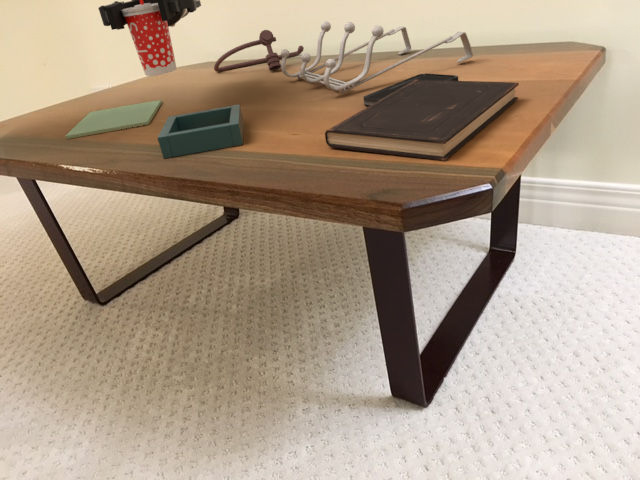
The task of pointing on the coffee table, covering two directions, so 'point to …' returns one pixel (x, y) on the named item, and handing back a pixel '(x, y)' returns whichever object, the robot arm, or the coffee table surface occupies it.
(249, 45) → the toilet paper hanger
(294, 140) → the coffee table surface
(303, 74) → the over door rack
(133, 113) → the mat
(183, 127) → the open rectangular box
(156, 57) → the beverage cup
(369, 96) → the phone
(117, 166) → the coffee table surface
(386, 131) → the hardcover book
